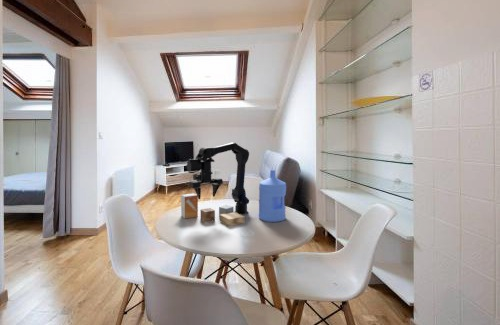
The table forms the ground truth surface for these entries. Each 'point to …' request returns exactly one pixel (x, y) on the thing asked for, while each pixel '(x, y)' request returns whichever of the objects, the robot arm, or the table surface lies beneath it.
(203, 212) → the walnut cube
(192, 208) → the small box
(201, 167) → the robot arm
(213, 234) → the table surface
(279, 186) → the water jug
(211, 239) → the table surface
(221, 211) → the slate cube
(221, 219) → the oak slab
